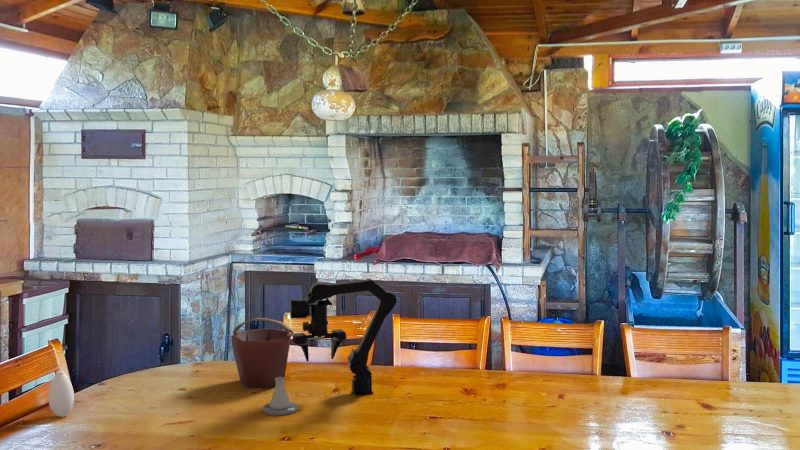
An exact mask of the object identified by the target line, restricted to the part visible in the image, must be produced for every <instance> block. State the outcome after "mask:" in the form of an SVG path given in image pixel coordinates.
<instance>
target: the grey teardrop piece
mask: <svg viewBox="0 0 800 450" xmlns="http://www.w3.org/2000/svg"><path fill="white" fill-rule="evenodd" d="M58 367H59V368H58V370H57V371H56V372H55V375H54V376H53V379H52V380H51V383H50V386H49V390H48V404H49V408H50V409H51V412H52V413H53V414H54V415H55V416H56V417H59V418H64V417H66V416H68V415H69V413H70V412H71V411H72V409H73V407H74V403H75V392H74V388H73V385H72V382H71V380H70V378H69V377H68V374H65V373H66V372H65V370H62V368H61V367H62V365H61V363H59V366H58Z"/></svg>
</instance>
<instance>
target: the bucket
mask: <svg viewBox="0 0 800 450" xmlns="http://www.w3.org/2000/svg"><path fill="white" fill-rule="evenodd" d="M256 321H260V322H266V323H269V324H274V325H277V326H279V327H280V328H282V329H278V328H272V327H271V328H258V329H257V328H256V329H246V330H242V331H241V332H239V330H240V329H241V328H242V327H243V326H244V325H246V324H247V323H251V322H256ZM232 334H233V335H231V347H232V351H233V355H234V359H235V364H236V369H237V374H238V377H239V382H240V384H241V385H242V386H244V387H245V388H247V389H258V388H259V390H260V389H264V390H267V389H271V388H275V386H276V380H275V378H277V377H284V378H285V377H286V373H287V372H286V369H287V364H288V363H287V362H288V357H289V352H290V345H291V340H292V339H291V338H292V337H293V335H294V334H295V333H294V330H293V328H291V327H290V326H288V325H287V324H286V323H284V322H283V321H279V320H275V319H273V318H272V319H271V318H269V317H268V318H267V317H254V318H251V319H249V320H246V321H244V322H242V323H240V324H238V325H237V326H236V327H235V328H234V329H233V330H232ZM285 379H286V378H285Z"/></svg>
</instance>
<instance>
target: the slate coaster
mask: <svg viewBox="0 0 800 450" xmlns="http://www.w3.org/2000/svg"><path fill="white" fill-rule="evenodd" d="M290 403H291V405H292V406H290V407H289V408H286V409H281V410H277V409H272V408H270V407H269V405H270V402H269V403H266V404H265V405H264V406H263V407H262V412H263V413H264V415H268V416H272V417H273V416H274V417H281V416H282V417H283V416H289V415H292V414H295V413H296V412H298V411H299V405H298V404H297V402H293V401H290Z"/></svg>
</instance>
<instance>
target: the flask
mask: <svg viewBox="0 0 800 450" xmlns="http://www.w3.org/2000/svg"><path fill="white" fill-rule="evenodd" d="M275 380H276V386H275V387H274V390H273V394H272V397H271V400H270V402H269V403H270V405H269V407H270V408H272V409H277V410H281V409H286V408H289V407H290V406H292V405H291V403H290V402H291V401H290V398H289V396H288V393H287V391H286V387H285V381H286V378H284V377H277V378H275Z"/></svg>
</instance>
